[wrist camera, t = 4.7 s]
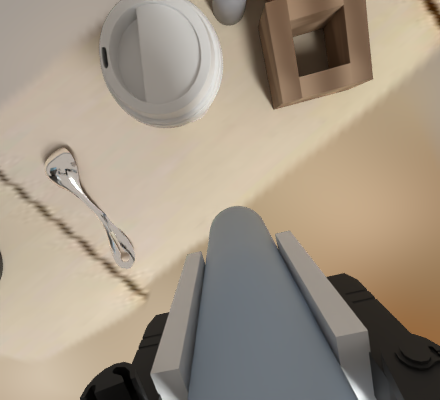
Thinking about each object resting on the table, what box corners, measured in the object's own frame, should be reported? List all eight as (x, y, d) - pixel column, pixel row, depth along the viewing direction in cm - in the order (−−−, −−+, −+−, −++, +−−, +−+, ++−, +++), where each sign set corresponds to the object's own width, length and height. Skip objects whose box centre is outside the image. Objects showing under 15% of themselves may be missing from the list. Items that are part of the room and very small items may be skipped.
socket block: (273, 109, 31) (283, 103, 26) (257, 26, 29) (265, 3, 24) (349, 89, 30) (372, 79, 26) (338, 2, 28) (363, -27, 23)
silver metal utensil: (137, 267, 33) (110, 281, 34) (146, 257, 36) (121, 270, 37) (56, 140, 30) (27, 158, 31) (74, 142, 34) (48, 158, 34)
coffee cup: (163, 44, 30) (104, -52, 15) (233, 72, 30) (243, 7, 16) (142, 119, 32) (74, 98, 17) (209, 144, 32) (197, 144, 18)
